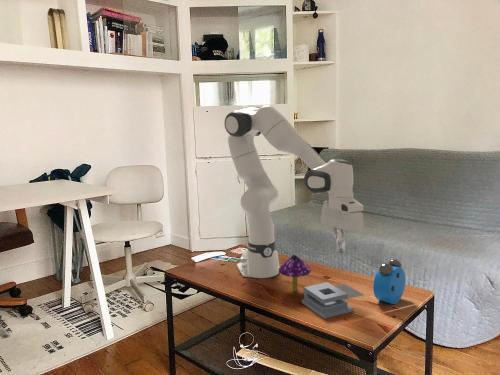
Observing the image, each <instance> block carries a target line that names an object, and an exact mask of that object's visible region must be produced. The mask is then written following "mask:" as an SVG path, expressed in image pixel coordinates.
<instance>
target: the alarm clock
mask: <svg viewBox="0 0 500 375" xmlns="http://www.w3.org/2000/svg"><path fill="white" fill-rule="evenodd" d="M402 267H403V264H402V262H401V261H400V260H398V259H396V258H393V259H391V258H390V260H388V261H387V262H385V263H382V264H380V265H379V267H378V269H377V271H376V273H375V275H374V279H373V286H372V287H373V288H372V290H373V295H374V297H375V299H377V300H378V302H379V303H381V302H384V303H388V304H391V305H395V304H397V303H399V302H400V301H401V299H402V297H403V295H404V291H405V287H406V274H405V271H404V269H403V268H402Z"/></svg>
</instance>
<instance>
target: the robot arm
mask: <svg viewBox="0 0 500 375" xmlns="http://www.w3.org/2000/svg"><path fill="white" fill-rule="evenodd" d="M224 128H225V131H226V132H227V134H228V135H229V136H228V138H227V141H228V142H227V143H228V147H229V153H230V156H231V158H232V161H233V165H234V167H235V170H236V173H237V175H238V177H239V179H241V181H243V182H244V184H245V185H246V187H247V188H248V189H246V190H245V192H243V194H242V195H241V198H240V206H241V208H242V209H243V211H244V212H245V216H246V220H247V226H248V240H247V245H246V246H247V249H246V250H245V251H243V253H241V257H240V258H239V263H238V262H237V264H236V268H237V270H239V272H240V274H241V276H242V277H245V278H247V277H248V278H254V279H268V278H272V277H276V276H277V275H279V274H280V272H279V268H280V267H281V265H280V261H279V260H280V259H279V253H278V251H277V250H276V241H275V224H274V221H273V220H272V216H271V210H270V209H271V207H272V206H273V205H274V206H275V204H276V202H277V200H278V199H279V190H278V188H277V187H276V186H275V185H274V184H273V182H272V180H271V178H270V177H269V176H268V174H267V172H266V171H265V169H264V167H263V164H262V162H261V159H260V156H259V152H258V151H257V148H256V146H255V142H254V140H255V139H254V138H255V137H259V136H260V135H261V134H262V136H263V137H264V138H265V139H266V140H267V141H268V143H269V144H270V145H271V146H272V147H273V148H275V149H276V150H277V151H279V152H283V153H288V154H292V155H294V156H296V157H297V158H299V159H300V160H302V161H303V163H305V165H306V166H307V167H308V168H309V169H310V170H308V171H306V173H304V174H305V175H304V176H303V184H304V187H305V189H306V191H308V192H309V193H312V194H322V193H328V199H326V200H324V201H323V203H322V208H321V213H320V214H321V215H320V220H321V223H322V224H323V225H326V226H330V227H331V231H332V233H333V238H334V239H336V240H337V228H339V229H342V230H343V233H344V236H342V241H344V242H345V243H346V242H348V241H349V236H350V234H351V233H352V234H361V233H362V232H363V231H364V225H365V224H364V223H365V221H364V220H365V219H364V214H363V212H362V211H364V205H363V203H361V202H359V201H358V200H357V199H355V198H354V191H353V187H354V170H353V164H352V163H351V162H350V161H349V160H346V159H342V158H332V159H330V160H329V161H328V162H327V161H326V159H324V158H323V156H321V155H320V154H319V153H318V152H317V151H316V149H314V148H313V146H311V144H310V143H309V142H307V141H306V139H304V138H303V136H302V135H300V133H299V132H298V131H297V130H296V129H295V127H294V126H293V125H292V124H291V123H290V122H289V121H288V119H287V118H286V116H284V115H283V114H282V112H280V111H279V110H278V109H276V108H275V107H274V106H272V105H269V104H268V105H267V104H266V105H263V106H254V107H245V108H242V109H241V108H240V109H237V110H233V111H231V112H229V113H228V114H227V115H226V116H225V119H224Z"/></svg>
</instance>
